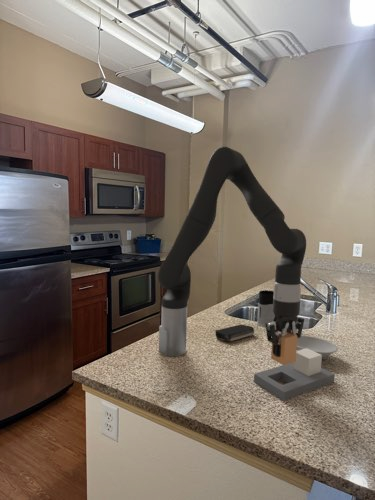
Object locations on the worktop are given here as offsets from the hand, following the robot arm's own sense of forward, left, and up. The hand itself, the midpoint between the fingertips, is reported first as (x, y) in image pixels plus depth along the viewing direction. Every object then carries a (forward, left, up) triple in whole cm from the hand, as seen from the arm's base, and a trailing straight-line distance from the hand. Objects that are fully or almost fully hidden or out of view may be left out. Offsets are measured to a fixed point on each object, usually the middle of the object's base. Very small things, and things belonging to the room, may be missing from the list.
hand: (283, 353), depth 101 cm
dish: (+25, +10, -10) cm, 29 cm away
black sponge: (+13, +38, -11) cm, 42 cm away
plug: (0, 0, -2) cm, 2 cm away
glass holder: (+33, +45, -10) cm, 57 cm away
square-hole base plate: (+5, 0, -10) cm, 12 cm away
